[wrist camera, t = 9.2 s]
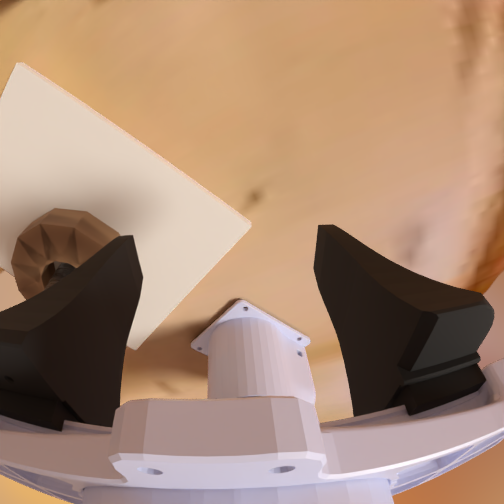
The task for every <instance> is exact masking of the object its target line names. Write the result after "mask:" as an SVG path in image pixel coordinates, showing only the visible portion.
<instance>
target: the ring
mask: <svg viewBox="0 0 504 504" xmlns="http://www.w3.org/2000/svg"><path fill="white" fill-rule="evenodd" d="M118 236H120V234H119V232H117V231H116V230H114V229H113V228H111V227H110V226H108V225H107V224H105V223H104V222H102V221H101V220H99V219H98V218H96V217H95V216H93V215H92V214H90V213H89V212H88V211H79V210H69V209H60V208H54V209H52V210H51V211H49V212H47V213H46V214H44V215H43V216H41V217H39V218H38V219H36V220H34V221H33V222H32V223H31V224H30V225H29V226H28V227H27V228H26V229H25V230H24V231H23V232H22V233H21V234H20V235H19V236H18V237H17V241H16V245H15V248H14V252H13V256H12V260H11V265H12V269H13V272H14V276H15V279H16V283H17V286H18V289H19V291H20V292H21V293H22V295H23V296H24V298H25V299H26V300H28V299H30V298H32V297H33V296H35V295H37V294H39V293H40V292H42V291H43V290H44V289H45V287H46V285H47V284H48V282H49V281H50V279H51V277H52V276H53V274H54V273H55V266H54V261H57V262H64V263H69V264H71V265H72V266H74V267H75V268H78V267H79V266H80V265H82V264H83V263H84V262H86V261H87V260H88V259H89V258H90V257H92V256H93V255H94V254H95V253H97V252H98V251H99V250H100V249H102V248H103V247H104V246H105V245H107V244H108V243H109V242H111V241H112V240H113V239H115V238H116V237H118Z"/></svg>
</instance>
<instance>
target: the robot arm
mask: <svg viewBox="0 0 504 504" xmlns="http://www.w3.org/2000/svg"><path fill="white" fill-rule="evenodd" d="M314 272H315V277H316V281H317V284H318V288H319V291H320V294H321V296H322V299H323V301H324V304H325V306H326V308H327V311H328V313H329V316H330V318H331V321H332V323H333V326H334V328H335V331H336V334H337V337H338V340H339V343H340V347H341V351H342V355H343V359H344V364H345V368H346V373H347V378H348V383H349V388H350V394H351V400H352V407H353V414H354V417H352V418H347V419H341V420H336V421H330V422H325V423H319V421H318V417H317V413H316V409H315V406H314V404H315V398H316V393H315V387H314V383H313V379H312V375H311V371H310V367H309V363H308V359H307V355H306V351H305V347H306V346H307V345H308V344H309V343H310V342H311V341H310V338H309V337H307V336H305V335H303V334H302V333H300V332H298V331H296V330H295V329H293V328H291V327H289V326H288V325H286V324H284V323H282V322H281V321H279V320H277V319H275V318H274V317H272V316H270V315H269V314H267V313H265V312H263V311H262V310H260V309H258V308H257V307H255V306H253V305H251V304H250V303H248V302H246V301H245V300H238V301H236V302H235V303H234V304H233V305H232V306H231V307H230V308H229V309H227V310H226V311H225V312H224V313H223V314H222V315H221V316H220V317H219V318H218V319H217V320H215V321H214V322H213V323H212V324H211V325H210V326H209V327H208V328H207V329H206V330H204V331H203V332H202V333H201V334H200V335H199V336H198V337H197V338H196V339H194V340H193V341H192V342H191V348H192V349H194V350H196V351H198V352H201V353H203V354H205V355H207V356H208V399H152V398H151V399H141V400H131V401H128V402H126V403H125V404H123V405H122V406H120V391H121V379H122V369H123V362H124V355H125V349H126V345H127V341H128V337H129V334H130V330H131V327H132V323H133V320H134V317H135V313H136V310H137V307H138V303H139V300H140V295H141V290H142V283H143V274H142V270H141V266H140V262H139V258H138V254H137V250H136V245H135V241H134V237H133V235H124V236H118V237H116V238H115V239H113V240H112V241H111V242H109V243H108V244H107V245H105V246H104V247H103V248H102V249H100V250H99V251H98V252H97V253H95V254H94V255H93V256H92V257H90V258H89V259H88V260H87V261H86V262H84V263H83V264H82V265H80V266H79V267H78V268H76V269H75V270H74V271H72V272H71V273H70V274H69V275H67V276H66V277H64V278H63V279H61V280H60V281H58V282H57V283H55V284H54V285H52V286H51V287H49V288H48V289H46V290H44V291H42V292H40V293H39V294H37V295H35V296H33V297H32V298H30V299H28V300H26V301H24V302H22V303H20V304H18V305H15V306H13V307H11V308H9V309H6V310H4V311H1V312H0V474H1V475H3V476H5V477H7V478H9V479H12V480H14V481H16V482H18V483H21V484H23V485H25V486H28V487H30V488H32V489H35V490H37V491H40V492H42V493H45V494H47V495H50V496H53V497H56V498H59V499H61V500H64V501H67V502H71V503H74V504H394V502H393V498H392V495H395V494H397V493H400V492H403V491H405V490H408V489H410V488H413V487H415V486H417V485H420V484H422V483H424V482H427V481H429V480H431V479H433V478H435V477H437V476H439V475H441V474H444V473H446V472H448V471H450V470H452V469H453V468H455V467H457V466H459V465H461V464H463V463H465V462H467V461H469V460H470V459H472V458H474V457H476V456H478V455H479V454H481V453H483V452H485V451H486V450H488V449H490V448H491V447H493V446H495V445H496V444H498V443H499V442H500V441H501V440H502V439H504V358H502V359H500V360H498V361H495V362H493V363H491V364H489V365H487V366H485V367H484V368H483V369H482V370H481V369H480V368H479V366H478V364H477V363H478V362H479V361H480V356H479V354H478V353H477V350H478V348H479V346H480V345H481V343H482V342H483V340H484V339H485V337H486V335H487V333H488V332H489V330H490V328H491V326H492V324H493V320H494V309H493V308H492V306H491V305H490V304H489V302H488V301H487V300H486V299H485V297H484V296H483V295H482V294H481V293H479V292H474V291H470V290H465V289H461V288H457V287H453V286H450V285H447V284H443V283H440V282H437V281H435V280H432V279H429V278H427V277H424V276H422V275H419V274H417V273H414V272H412V271H410V270H408V269H406V268H404V267H402V266H400V265H398V264H396V263H394V262H392V261H390V260H389V259H387V258H385V257H383V256H382V255H380V254H378V253H377V252H375V251H374V250H372V249H370V248H369V247H367V246H366V245H364V244H363V243H361V242H360V241H358V240H357V239H355V238H354V237H352V236H351V235H349V234H348V233H346V232H345V231H343V230H342V229H340V228H339V227H337V226H335V225H318V233H317V242H316V251H315V260H314ZM243 307H247V308H243ZM299 337H300V338H299Z"/></svg>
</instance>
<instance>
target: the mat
mask: <svg viewBox="0 0 504 504" xmlns="http://www.w3.org/2000/svg"><path fill="white" fill-rule="evenodd" d="M54 208H60V209H69V210H79V211H88V212H89V213H90V214H92V215H93V216H95V217H96V218H98V219H99V220H101V221H102V222H104V223H105V224H107V225H108V226H110V227H111V228H113V229H114V230H116V231H117V232H119V234H120V236H124V235H133V237H134V241H135V245H136V250H137V254H138V258H139V262H140V266H141V270H142V274H143V283H142V290H141V295H140V300H139V303H138V307H137V310H136V313H135V317H134V320H133V323H132V327H131V330H130V334H129V337H128V341H127V345H126V346H128V347H130V348H132V349H134V350H137V348H138V347H139V346H140V345H141V344H142V343H143V342H144V341H145V340H146V339H147V338H148V336H149V335H150V334H151V333H152V332H153V331H154V330H155V329H156V328H157V327H158V326H159V325H160V323H161V322H162V321H163V320H164V319H165V318H166V317H167V316H168V315H169V314H170V313H171V312H172V311H173V309H174V308H175V307H176V306H177V305H178V304H179V303H180V302H181V301H182V300H183V299H184V298H185V297H186V296H187V294H188V293H189V292H190V291H191V290H192V289H193V288H194V287H195V286H196V285H197V284H198V283H199V282H200V281H201V280H202V278H203V277H204V276H205V275H206V274H207V273H208V272H209V271H210V270H211V269H212V268H213V267H214V266H215V265H216V264H217V263H218V261H219V260H220V259H221V258H222V257H223V256H224V255H225V254H226V253H227V252H228V251H229V250H230V249H231V248H232V247H233V246H234V245H235V244H236V243H237V241H238V240H239V239H240V238H241V237H242V236H243V235H244V234H245V233H246V232H247V231H248V230H249V229H250V228H251V227H252V226H251V221H249V220H248V219H247V218H245V217H244V216H243V215H241V214H240V213H238V212H237V211H236V210H234V209H233V208H232V207H230V206H229V205H228V204H226V203H225V202H224V201H222V200H221V199H219V198H218V197H217V196H215V195H214V194H213V193H211V192H210V191H208V190H207V189H206V188H204V187H203V186H202V185H200V184H199V183H197V182H196V181H195V180H193V179H192V178H190V177H189V176H188V175H186V174H185V173H184V172H182V171H181V170H179V169H178V168H177V167H175V166H174V165H172V164H171V163H170V162H168V161H167V160H165V159H164V158H163V157H161V156H160V155H158V154H157V153H155V152H154V151H153V150H151V149H150V148H148V147H147V146H146V145H144V144H143V143H141V142H140V141H138V140H137V139H136V138H134V137H133V136H131V135H130V134H128V133H127V132H126V131H124V130H123V129H121V128H120V127H118V126H117V125H116V124H114V123H113V122H111V121H110V120H108V119H107V118H105V117H104V116H102V115H101V114H100V113H98V112H97V111H95V110H94V109H92V108H91V107H89V106H88V105H86V104H85V103H83V102H82V101H80V100H79V99H77V98H76V97H75V96H73V95H72V94H70V93H69V92H67V91H66V90H64V89H63V88H61V87H60V86H58V85H57V84H55V83H54V82H52V81H51V80H49V79H48V78H46V77H45V76H43V75H42V74H40V73H38V72H37V71H35V70H34V69H32V68H31V67H29V66H28V65H26V64H25V63H23V62H20V63H16V65H15V67H14V70H13V72H12V74H11V76H10V78H9V80H8V82H7V85H6V87H5V89H4V91H3V94H2V96H1V99H0V267H2V268H3V269H4V270H6V271H7V272H8V273H10V274H11V275H12V276H14V272H13V269H12V265H11V260H12V256H13V252H14V248H15V245H16V241H17V237H18V236H19V235H20V234H21V233H22V232H23V231H24V230H25V229H26V228H27V227H28V226H29V225H30V224H31V223H32V222H33V221H34V220H36V219H38V218H39V217H41V216H43V215H44V214H46V213H47V212H49V211H51V210H52V209H54ZM60 263H61V262H57V261H54V266H55V271H56V269H57V268H58V266H59V265H60ZM14 277H15V276H14Z"/></svg>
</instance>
